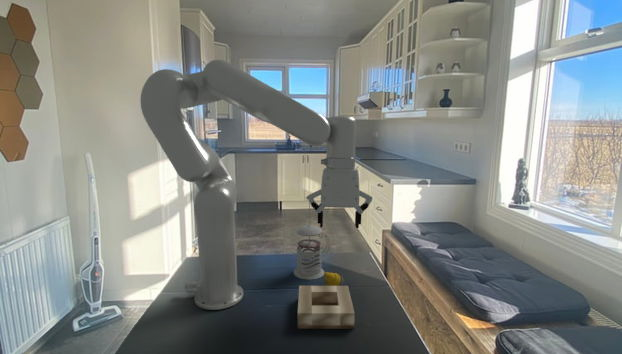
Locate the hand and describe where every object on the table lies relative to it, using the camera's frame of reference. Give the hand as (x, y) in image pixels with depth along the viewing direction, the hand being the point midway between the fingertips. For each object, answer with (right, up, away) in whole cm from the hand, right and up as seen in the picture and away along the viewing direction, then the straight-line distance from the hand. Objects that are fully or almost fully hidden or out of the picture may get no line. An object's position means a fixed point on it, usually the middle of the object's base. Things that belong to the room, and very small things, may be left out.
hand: (339, 226), depth 90 cm
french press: (-7, -17, +15) cm, 24 cm away
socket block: (-4, -20, -8) cm, 22 cm away
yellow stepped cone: (-1, -19, +3) cm, 19 cm away
